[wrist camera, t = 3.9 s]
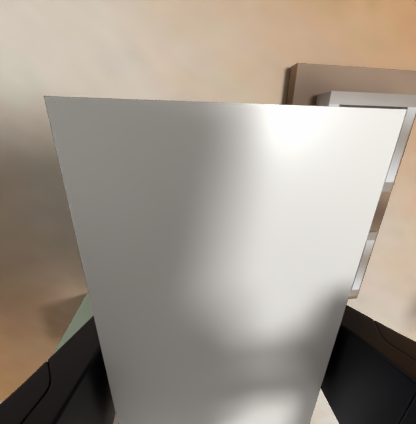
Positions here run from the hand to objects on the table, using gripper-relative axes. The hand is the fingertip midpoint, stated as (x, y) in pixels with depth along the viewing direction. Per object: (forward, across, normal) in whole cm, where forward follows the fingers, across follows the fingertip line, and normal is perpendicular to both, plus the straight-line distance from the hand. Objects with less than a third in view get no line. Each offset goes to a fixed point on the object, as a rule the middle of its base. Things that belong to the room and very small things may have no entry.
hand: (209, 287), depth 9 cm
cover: (0, 0, 0) cm, 0 cm away
